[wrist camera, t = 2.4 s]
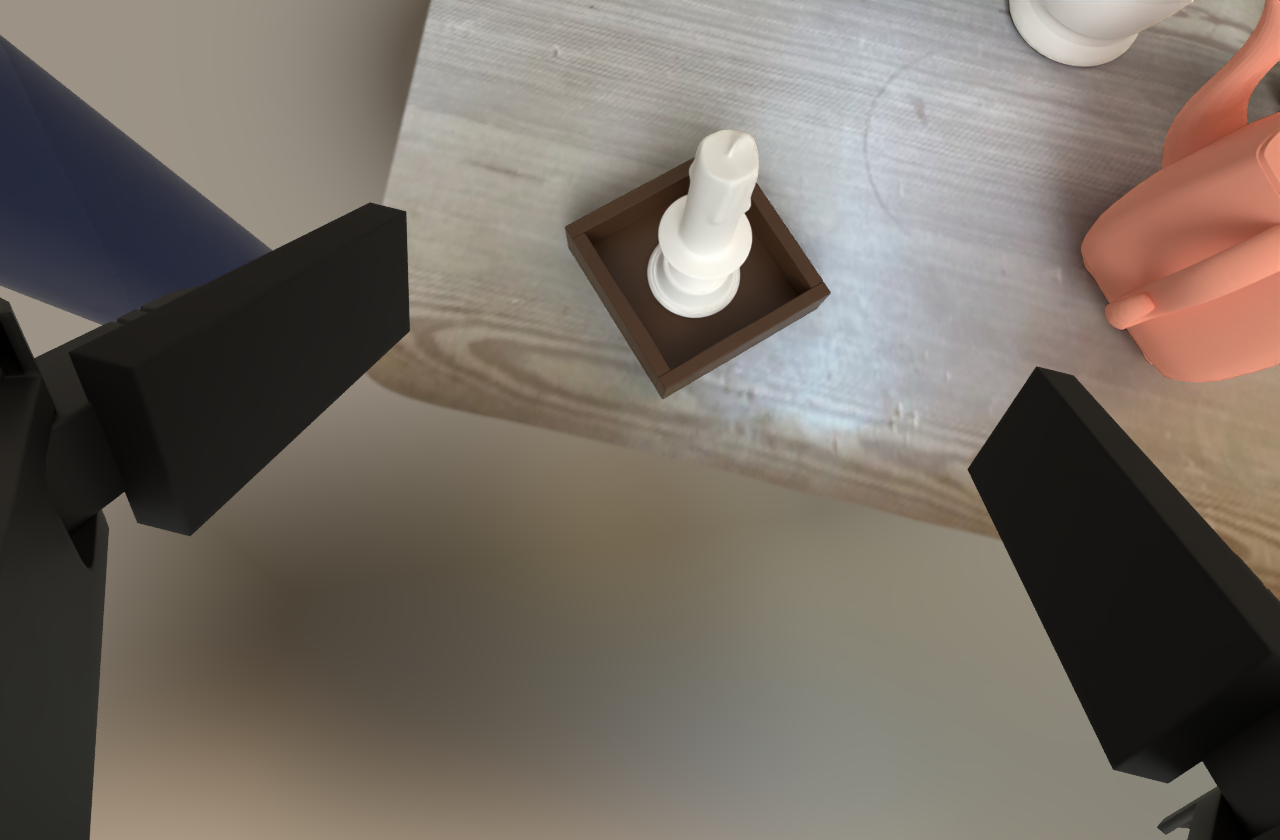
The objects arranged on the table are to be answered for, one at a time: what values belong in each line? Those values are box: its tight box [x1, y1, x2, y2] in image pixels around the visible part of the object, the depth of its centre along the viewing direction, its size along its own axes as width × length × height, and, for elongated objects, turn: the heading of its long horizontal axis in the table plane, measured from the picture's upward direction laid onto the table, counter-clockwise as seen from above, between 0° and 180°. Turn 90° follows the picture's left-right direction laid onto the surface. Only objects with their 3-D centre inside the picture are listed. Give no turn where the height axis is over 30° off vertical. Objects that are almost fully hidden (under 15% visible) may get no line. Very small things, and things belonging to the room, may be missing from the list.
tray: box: [565, 157, 831, 399], centre depth 34 cm, size 11×11×2 cm
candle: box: [647, 130, 759, 318], centre depth 29 cm, size 5×5×12 cm
